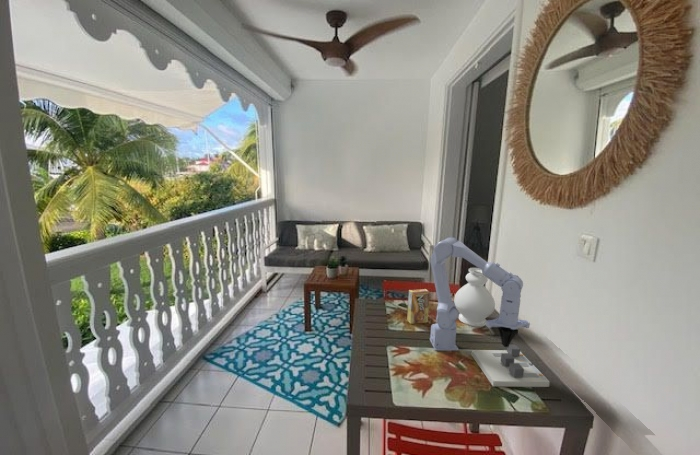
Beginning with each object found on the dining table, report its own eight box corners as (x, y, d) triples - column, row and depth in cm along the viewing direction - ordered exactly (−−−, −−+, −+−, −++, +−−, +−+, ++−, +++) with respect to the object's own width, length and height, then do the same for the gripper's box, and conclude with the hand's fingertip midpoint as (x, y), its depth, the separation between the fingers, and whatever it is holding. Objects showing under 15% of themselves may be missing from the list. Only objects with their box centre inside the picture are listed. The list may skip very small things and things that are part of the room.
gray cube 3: (513, 377, 95) (514, 369, 94) (508, 371, 98) (509, 363, 97) (522, 377, 95) (524, 369, 94) (517, 371, 98) (518, 363, 97)
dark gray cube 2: (505, 366, 100) (505, 358, 100) (500, 360, 103) (501, 353, 103) (513, 366, 100) (514, 358, 100) (508, 360, 103) (509, 353, 103)
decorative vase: (486, 312, 144) (491, 265, 140) (498, 331, 127) (504, 278, 122) (449, 309, 147) (453, 263, 142) (456, 327, 130) (461, 275, 125)
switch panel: (493, 386, 94) (493, 380, 93) (471, 354, 110) (471, 349, 110) (548, 386, 94) (549, 381, 93) (518, 354, 110) (519, 349, 110)
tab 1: (511, 356, 106) (512, 349, 105) (506, 351, 109) (507, 344, 108) (519, 356, 106) (520, 349, 105) (514, 351, 109) (515, 344, 108)
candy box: (423, 318, 138) (425, 288, 135) (428, 322, 134) (430, 292, 131) (406, 320, 136) (408, 289, 133) (410, 324, 132) (412, 293, 129)
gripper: (494, 315, 96) (490, 352, 98) (537, 315, 96) (532, 352, 98) (484, 306, 102) (481, 340, 105) (524, 306, 103) (519, 340, 105)
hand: (505, 345), depth 102 cm, fingers closed
